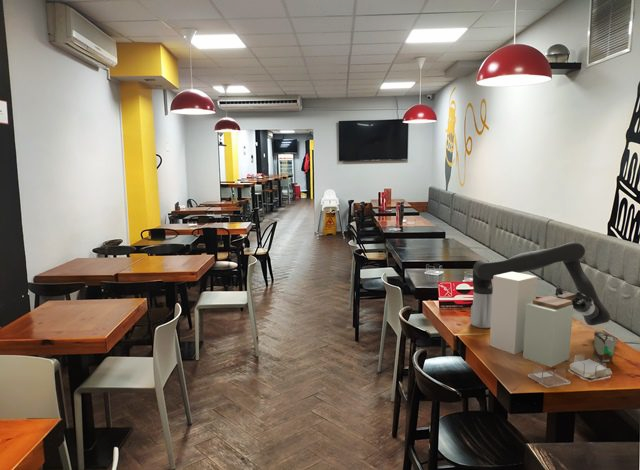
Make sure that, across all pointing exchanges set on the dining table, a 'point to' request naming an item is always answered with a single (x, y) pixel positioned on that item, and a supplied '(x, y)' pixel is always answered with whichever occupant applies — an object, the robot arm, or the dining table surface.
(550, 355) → the low stand
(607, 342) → the food container
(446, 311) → the dining table surface
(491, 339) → the tall stand
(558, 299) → the serving paddle
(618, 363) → the dining table surface
